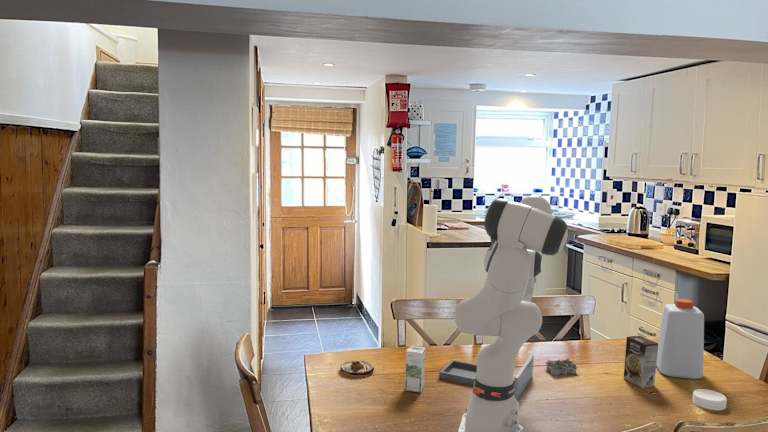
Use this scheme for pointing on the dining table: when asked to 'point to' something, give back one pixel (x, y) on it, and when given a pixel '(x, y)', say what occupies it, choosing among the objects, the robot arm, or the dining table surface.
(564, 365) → the egg carton
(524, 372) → the slate plastic wall
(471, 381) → the charcoal tray
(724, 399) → the white round lid
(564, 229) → the robot arm
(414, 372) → the syrup box
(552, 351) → the dining table surface
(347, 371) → the dark rimmed plate
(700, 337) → the plastic bottle
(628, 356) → the coffee box
